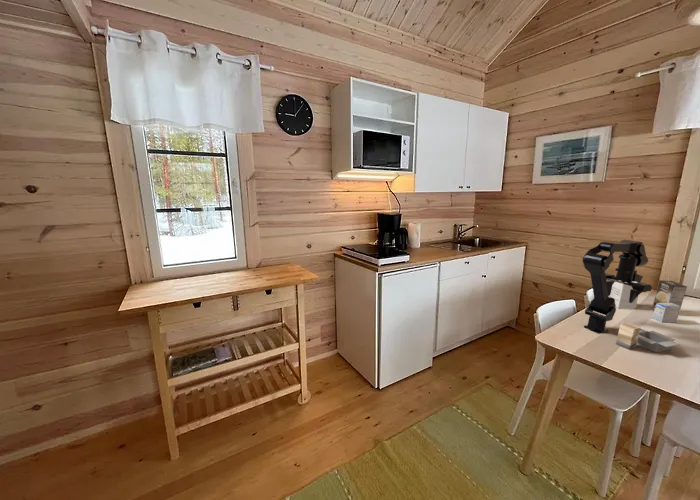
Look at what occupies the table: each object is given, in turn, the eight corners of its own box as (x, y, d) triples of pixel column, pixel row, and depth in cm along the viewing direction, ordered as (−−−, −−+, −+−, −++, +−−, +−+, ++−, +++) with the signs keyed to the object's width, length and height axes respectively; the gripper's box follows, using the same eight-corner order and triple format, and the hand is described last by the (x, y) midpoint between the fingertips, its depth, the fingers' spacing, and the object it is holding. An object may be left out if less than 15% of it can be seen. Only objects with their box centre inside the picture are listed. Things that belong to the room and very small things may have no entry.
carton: (658, 356, 113) (661, 347, 112) (619, 339, 126) (621, 330, 125) (682, 352, 116) (685, 343, 115) (642, 335, 129) (644, 327, 128)
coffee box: (651, 307, 161) (658, 279, 158) (665, 308, 160) (672, 280, 156) (665, 314, 152) (673, 285, 149) (679, 315, 151) (688, 286, 148)
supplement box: (622, 303, 167) (628, 278, 163) (635, 309, 158) (642, 283, 155) (605, 302, 167) (610, 277, 164) (617, 308, 159) (623, 282, 156)
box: (628, 349, 117) (633, 329, 115) (615, 344, 122) (620, 324, 120) (635, 347, 119) (640, 327, 117) (622, 342, 123) (626, 322, 121)
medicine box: (666, 318, 147) (671, 302, 145) (676, 322, 143) (681, 306, 141) (652, 318, 147) (656, 302, 145) (661, 322, 143) (665, 306, 141)
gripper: (664, 272, 126) (656, 305, 130) (617, 261, 144) (610, 291, 147) (646, 273, 124) (637, 307, 127) (599, 262, 141) (593, 292, 145)
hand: (619, 299), depth 137 cm, fingers open, 9 cm apart
